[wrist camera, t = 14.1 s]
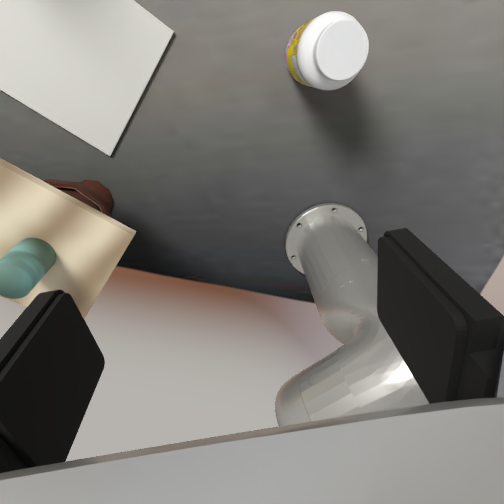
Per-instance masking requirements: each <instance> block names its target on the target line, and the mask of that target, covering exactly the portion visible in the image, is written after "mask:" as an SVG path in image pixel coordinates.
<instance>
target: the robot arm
mask: <svg viewBox="0 0 504 504" xmlns="http://www.w3.org/2000/svg"><path fill="white" fill-rule="evenodd" d="M332 208H334V209H333V210H332ZM298 223H300V224H298ZM359 227H360V228H359ZM285 247H286V252H287V256H288V258H289V261H290V262H291V264H292V265H293V266H294V267H295V268H296V269H297V270H298V271H299V272H301V273H303V274H305V276H306V279H307V281H308V284H309V287H310V289H311V292H312V295H313V298H314V300H315V303H316V305H317V308H318V311H319V313H320V316H321V319H322V321H323V323H324V325H325V327H326V328H327V330H328V331H329V333H331V335H333V336H334V337H335V338H336V339H337V340H338V341H340V342H341V343H343V344H344V345H343V346H341V347H340V348H338V349H337V350H336V351H334V352H333V353H331V354H329V355H328V356H326V357H324V358H323V359H321V360H319V361H318V362H316V363H314V364H313V365H311V366H309V367H308V368H306V369H304V370H303V371H301V372H300V373H298V374H296V375H295V376H293V377H292V378H290V379H289V380H288V381H287V382H285V383H284V384H283V386H282V387H281V388H280V390H279V391H278V393H277V396H276V401H275V412H276V418H277V422H278V425H279V427H273V428H267V429H261V430H254V431H249V432H242V433H236V434H230V435H224V436H218V437H211V438H205V439H199V440H193V441H187V442H181V443H175V444H169V445H163V446H157V447H150V448H144V449H138V450H132V451H127V452H120V453H115V454H108V455H103V456H97V457H91V458H85V459H79V460H73V461H67V462H65V461H66V458H67V456H68V453H69V451H70V449H71V446H72V444H73V441H74V439H75V437H76V434H77V432H78V429H79V427H80V424H81V422H82V420H83V417H84V415H85V412H86V410H87V408H88V405H89V402H90V400H91V398H92V395H93V393H94V390H95V388H96V386H97V383H98V381H99V378H100V376H101V373H102V371H103V369H104V364H105V362H104V357H103V354H102V352H101V351H100V349H99V347H98V345H97V343H96V341H95V339H94V337H93V336H92V334H91V332H90V330H89V328H88V326H87V324H86V322H85V320H84V319H83V317H82V315H81V313H80V311H79V309H78V307H77V305H76V303H75V302H74V300H73V298H72V296H71V295H70V294H69V293H65V292H64V291H63V290H60V289H59V290H54V291H48V292H42V293H39V294H38V295H37V296H36V297H35V298H34V300H33V301H32V302H31V303H30V304H29V306H28V307H27V308H26V309H25V310H24V312H23V313H22V314H21V315H20V316H19V318H18V319H17V320H16V321H15V322H14V324H13V325H12V326H11V327H10V328H9V329H8V331H7V332H6V333H5V334H4V336H3V337H2V338H1V339H0V504H504V316H503V315H502V314H501V313H500V312H499V311H497V310H496V309H495V308H494V307H493V306H492V305H491V304H490V303H489V302H488V301H487V300H485V299H484V298H483V297H482V296H481V295H480V294H479V293H478V292H477V291H475V290H474V289H473V288H472V287H471V286H470V285H469V284H468V283H467V282H466V281H464V280H463V279H462V278H461V277H460V276H459V275H458V274H457V273H456V272H455V271H453V270H452V269H451V268H450V267H449V266H448V265H447V264H446V263H445V262H443V261H442V260H441V259H440V258H439V257H438V256H437V255H436V254H435V253H433V252H432V251H431V250H430V249H429V248H428V247H427V246H426V245H425V244H424V243H422V242H421V241H420V240H419V239H418V238H417V237H416V236H415V235H414V234H413V233H411V232H410V231H409V230H408V229H406V228H403V229H397V230H392V231H386V232H385V233H384V237H380V238H379V240H378V256H377V255H376V254H375V253H374V251H373V250H372V249H371V247H370V246H369V245H368V244H367V230H366V227H365V224H364V222H363V220H362V219H361V217H360V216H359V215H358V214H357V213H356V212H355V211H354V210H352V209H351V208H349V207H347V206H345V205H341V204H337V203H325V204H319V205H316V206H313V207H311V208H309V209H307V210H305V211H304V212H303V213H301V214H300V215H299V216H298V217H297V218H296V219H295V220H294V221H293V223H292V224H291V226H290V228H289V230H288V232H287V235H286V241H285ZM293 255H294V256H293Z"/></svg>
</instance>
